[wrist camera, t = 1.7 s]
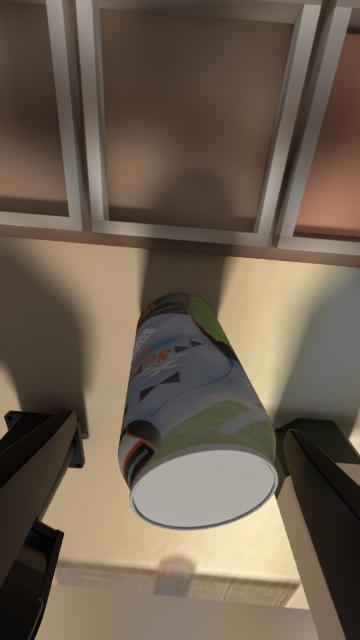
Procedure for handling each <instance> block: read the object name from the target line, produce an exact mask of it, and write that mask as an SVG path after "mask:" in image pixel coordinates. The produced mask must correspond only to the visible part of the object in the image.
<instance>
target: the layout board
mask: <svg viewBox="0 0 360 640" xmlns="http://www.w3.org/2000/svg"><path fill="white" fill-rule="evenodd" d="M0 236H6V237H17V238H29V239H40V240H51V241H63V242H74V243H86V244H97V245H108V246H120V247H131V248H143V249H154V250H165V251H177V252H188V253H200V254H211V255H222V256H234V257H245V258H256V259H268V260H279V261H291V262H302V263H313V264H325V265H336V266H348V267H359V268H360V0H0Z"/></svg>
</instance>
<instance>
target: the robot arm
mask: <svg viewBox="0 0 360 640" xmlns="http://www.w3.org/2000/svg"><path fill="white" fill-rule="evenodd" d="M4 418H5V421H6V424H7V428H8V431H7V433H6V434H5V435H4V436H3V437H2V438H1V439H0V640H34V639H35V637H36V634H37V631H38V629H39V627H40V624H41V621H42V618H43V615H44V611H45V608H46V604H47V600H48V596H49V592H50V588H51V584H52V580H53V576H54V572H55V568H56V564H57V560H58V556H59V552H60V548H61V544H62V540H63V537H64V532H62V531H60V530H59V529H57V530H55V529H53V528H51V527H50V526H48V525H46V524H44V523H43V522H41V521H42V519H43V517H44V515H45V513H46V511H47V509H48V507H49V505H50V503H51V501H52V499H53V497H54V495H55V493H56V491H57V489H58V487H59V485H60V483H61V481H62V479H63V477H64V475H65V473H66V471H67V469H68V467H69V468H82V467H83V466H84V464H85V457H84V450H83V443H82V436H81V428H80V421H79V419H78V418H76V412H75V410H74V409H69V408H65V409H63V410H61V411H60V412H58V413H57V414H56V415H53V414H42V413H32V412H21V411H9V412H8V413H7V414H6V415H5V416H4ZM283 446H284V452H285V456H286V460H287V464H288V468H289V472H290V476H291V480H292V484H293V488H294V491H295V494H296V497H297V500H298V503H299V506H300V509H301V512H302V515H303V517H304V520H305V523H306V526H307V529H308V532H309V535H310V538H311V541H312V543H313V546H314V549H315V552H316V555H317V558H318V561H319V564H320V567H321V569H322V572H323V575H324V578H325V581H326V584H327V587H328V590H329V593H330V595H331V598H332V601H333V604H334V607H335V610H336V613H337V616H338V619H339V621H340V624H341V627H342V630H343V633H344V636H345V639H346V640H360V486H359V485H358V484H357V483H356V482H355V481H354V480H353V479H352V478H351V477H350V476H349V475H348V474H347V473H345V472H344V471H343V470H342V469H341V468H340V467H339V466H338V465H337V464H336V463H335V462H334V461H333V460H331V459H330V458H329V457H328V456H327V455H326V454H325V453H324V452H323V451H322V450H321V449H320V448H319V447H317V446H316V445H315V444H314V443H313V442H312V441H311V440H310V439H309V438H308V437H307V436H306V435H304V434H303V433H302V432H301V431H300V430H294V429H290V430H288V432H287V435H286V438H285V440H284V444H283Z"/></svg>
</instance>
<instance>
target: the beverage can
mask: <svg viewBox="0 0 360 640" xmlns="http://www.w3.org/2000/svg"><path fill="white" fill-rule="evenodd" d="M275 451H276V436H275V431H274V427H273V424H272V422H271V420H270V418H269V416H268V415H267V413H266V411H265V409H264V407H263V405H262V403H261V401H260V399H259V397H258V396H257V394H256V392H255V390H254V388H253V386H252V384H251V382H250V380H249V379H248V377H247V375H246V373H245V371H244V369H243V367H242V365H241V363H240V361H239V360H238V358H237V356H236V354H235V352H234V350H233V348H232V346H231V344H230V342H229V341H228V339H227V337H226V335H225V333H224V331H223V329H222V327H221V325H220V324H219V322H218V320H217V318H216V316H215V314H214V312H213V310H212V309H211V308H210V307H209V305H208V304H206V303H205V302H204V301H203V300H201V299H199V298H197V297H195V296H192V295H188V294H171V295H166V296H163V297H160V298H159V299H157V300H155V301H153V302H152V303H151V304H149V305H148V306H147V307H146V309H145V310H144V311H143V312H142V314H141V316H140V318H139V321H138V324H137V330H136V337H135V344H134V350H133V357H132V363H131V370H130V376H129V383H128V389H127V396H126V402H125V409H124V416H123V422H122V429H121V435H120V442H119V449H118V460H119V466H120V470H121V473H122V475H123V477H124V479H125V481H126V483H127V485H128V487H129V489H130V490H131V491H130V504H131V507H132V509H133V511H134V513H135V514H136V515H137V516H138V517H139V518H140V519H142V520H143V521H145V522H146V523H149V524H151V525H153V526H156V527H160V528H164V529H170V530H183V531H186V530H202V529H209V528H214V527H219V526H222V525H226V524H229V523H232V522H235V521H237V520H240V519H242V518H244V517H246V516H248V515H250V514H252V513H253V512H255V511H257V510H258V509H259V508H261V507H262V506H263V505H264V504H265V503H266V502H267V501H268V500H269V499H270V498H271V497H272V495H273V494H274V492H275V490H276V488H277V485H278V475H277V470H276V468H275V466H274V459H275Z"/></svg>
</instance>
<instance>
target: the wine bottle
mask: <svg viewBox="0 0 360 640" xmlns="http://www.w3.org/2000/svg"><path fill="white" fill-rule="evenodd" d="M290 429H294V430H300V431H301V432H302V433H303V434H304V435H306V436H307V437H308V438H309V439H310V440H311V441H312V442H313V443H314V444H315V445H316V446H317V447H319V448H320V449H321V450H322V451H323V452H324V453H325V454H326V455H327V456H328V457H329V458H330V459H331V460H333V461H334V462H335V463H336V464H337V465H338V466H339V467H340V468H341V469H342V470H343V471H344V472H345V473H347V474H348V475H349V476H350V477H351V478H352V479H353V480H354V481H355V482H356V483H357V484H358V485H359V486H360V455H359V453H358V452H357V451H356V449H355V448H354V446H353V445H352V444H351V442H350V441H349V440H348V438H347V437H346V436H345V435H344V434H343V432H342V431H341V430H340V429H339V428H338V426H337V425H336V424H335V423H334V422H333V421H327V420H314V419H301V418H298V419H296V420H294V421H292V422H290V423H289V424H287V425H285V426H283V427H281V428H279V429H277V430H275V436H276V451H275V459H274V466H275V468H276V470H277V475H278V485H277V488H276V490H275V492H274V494H275V497H276V500H277V504H278V507H279V510H280V513H281V517H282V520H283V523H284V526H285V530H286V533H287V536H288V539H289V543H290V546H291V549H292V552H293V556H294V559H295V562H296V565H297V569H298V572H299V575H300V579H301V582H302V585H303V588H304V592H305V595H306V598H307V601H308V605H309V608H310V611H311V614H312V617H313V621H314V624H315V627H316V630H317V634H318V637H319V640H346V639H345V636H344V633H343V630H342V627H341V624H340V621H339V619H338V616H337V613H336V610H335V607H334V604H333V601H332V598H331V595H330V593H329V590H328V587H327V584H326V581H325V578H324V575H323V572H322V569H321V567H320V564H319V561H318V558H317V555H316V552H315V549H314V546H313V543H312V541H311V538H310V535H309V532H308V529H307V526H306V523H305V520H304V517H303V515H302V512H301V509H300V506H299V503H298V500H297V497H296V494H295V491H294V488H293V484H292V480H291V476H290V472H289V468H288V464H287V460H286V456H285V452H284V446H283V444H284V440H285V438H286V435H287V432H288V430H290Z"/></svg>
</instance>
